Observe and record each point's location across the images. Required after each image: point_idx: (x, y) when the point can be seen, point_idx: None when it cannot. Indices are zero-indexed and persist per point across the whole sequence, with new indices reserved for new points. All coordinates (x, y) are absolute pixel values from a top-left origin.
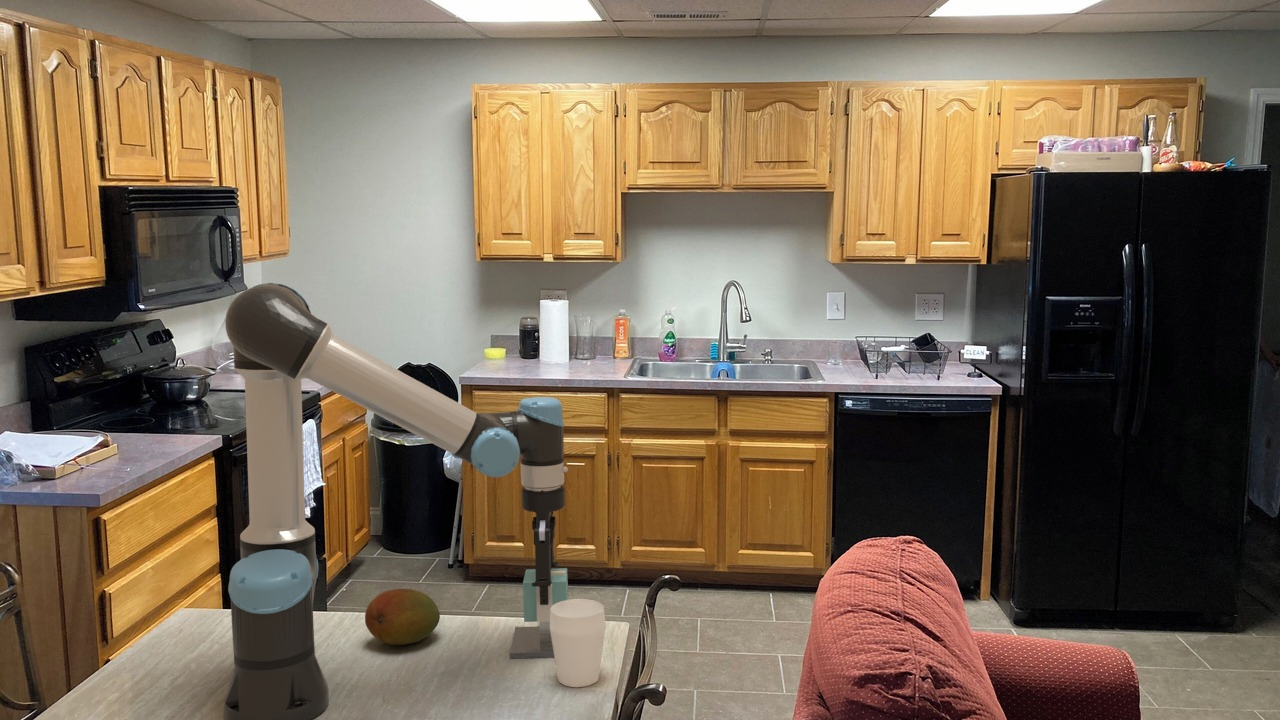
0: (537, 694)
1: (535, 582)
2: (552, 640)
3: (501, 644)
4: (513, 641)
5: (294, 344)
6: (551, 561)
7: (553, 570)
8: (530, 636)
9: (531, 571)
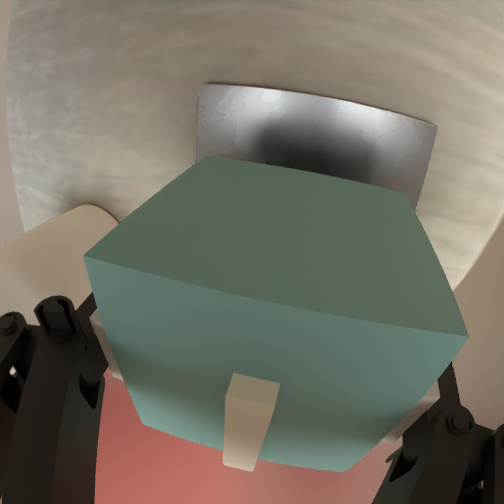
0: (43, 162)
1: (1, 323)
2: (10, 241)
3: (334, 59)
4: (300, 98)
5: None
6: (384, 482)
7: (337, 445)
8: (334, 161)
9: (390, 366)
